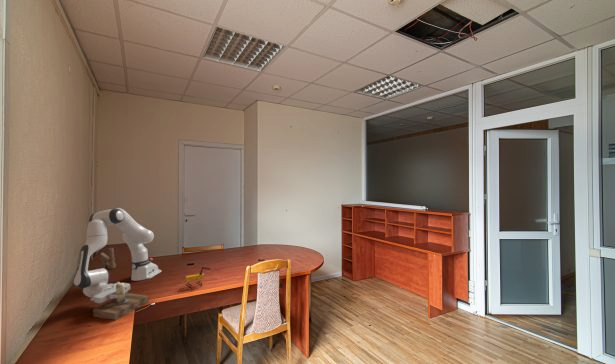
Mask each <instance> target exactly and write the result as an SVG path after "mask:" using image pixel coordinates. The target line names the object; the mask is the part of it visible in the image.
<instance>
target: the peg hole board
mask: <svg viewBox="0 0 615 364" xmlns="http://www.w3.org/2000/svg"><path fill="white" fill-rule="evenodd" d="M125 299H129V301H128V302H127V303H126V304H123V305H119V306H115V305H114V303H115V302H116V301H117V298H113V299H112V300H110V301H108V302H106V303H105V304H102V305H99V306H98V307H96V308H94V309H92V312H93V313H92V315H93V317H96V318H100V319H101V318H102V319H106V320H107V319H108V320H112V321H117V320H119V319H120V318H122V317H124V316H126V315H127V314H130V313H131V312H133V311H135V310H137V309H138V308H141V307H142V306H144V305H146V304H147V303H149V302H150V301H149V296H148V295H144V294H138V293H131V292H127V293H126V294H125Z"/></svg>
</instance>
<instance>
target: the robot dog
mask: <svg viewBox="0 0 615 364" xmlns="http://www.w3.org/2000/svg"><path fill="white" fill-rule="evenodd" d="M203 270H208V271H209V270H211V268H210V267H205V266H202V267H201V270H200V272H199V273H197V274H191V275H186V276H185V280H184V284H183V285H184V286H186V287H187V288H190V289H192V286H193V285H192V284H190V283H189V282H190V281H193V280H195V282H194V283H195V284H197V285H198V286H200V287H202V286H203V283H202V282H201V281H200V280H201V279H204V277H205V273H203Z"/></svg>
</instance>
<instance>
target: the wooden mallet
mask: <svg viewBox="0 0 615 364" xmlns="http://www.w3.org/2000/svg"><path fill="white" fill-rule="evenodd" d="M114 252H115V250H114V247H110V248H108V255H107V254H106V253H105V252H100V264H101V265H100V266H101V268H105V269H106V270H109V269H110V270H111V269H115V268H117V264H116V263H115V261H116V260H115V253H114Z"/></svg>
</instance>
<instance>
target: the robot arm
mask: <svg viewBox="0 0 615 364" xmlns="http://www.w3.org/2000/svg"><path fill="white" fill-rule="evenodd" d="M112 225H115V226H116V227H117V228H118V229H119V230H120V231H121V232H122V233H123V234H122V235H121V236H122V238H121V239H122V240H123V242H125V244H126V245H127V247H128V249H129V250H130V255H131V261H130V262H131V263H130V264H131V278H130V280H131V281H134V282H135V281H136V282H137V281H144V280H149V279H151V278H154V277H155V276H156V275H158V274H161V272H162V270H161V269H159V266H158V265H157V264H156V263H153V262H152V261H153V260H154V259H153V258H152V257H150V258H149V253H148V248H146V246H144V244H148V243H152V242H153V240H154V239H155V235H154V232H153V231H152V230H150V229H147V228H145V227H144V226H143V225H141V224H140V223H138V222H137V221H135V219H134V218H133V217H132V216H131V215H130V214H129V213H128V212H127V211H125V209H123V208H121V207H117V208H113V209H111V208H110V209H104V210H100V211H96V212H94V213H92V214H90V216H89V219H88V224H87V229H86V240H85V244H83V245H82V247H81V248H80V251H79V256H78V260H77V265H76V266H77V267H76V272H75V275H74V278H73V286H75V287H76V288H77V289H81V290H82V292H83V295H85V296H86V297H89V298H90V301H91V302H94V303H96V304H103V303H105V302H106V301H109V300H111V299H112V300H113V299H116V298H117V297H118V294H116V284H119V283H121V282H120V281H115V282H112V283H109V280H110V276H111V275H110V272H109V271H108V269H107V268H106V269H105V268H102V267H101V268H96V269H92V270H91V269H90V270H89V263H90V258H91V256H92V255H93V254H94V253H95V252H98V251H99V250H101V249H103V248H104V247H105V246H107V244H108V226H112ZM123 283H124V287H125V294H126V293H128V291H130V290H131V284H130V283H127V282H123Z"/></svg>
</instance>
